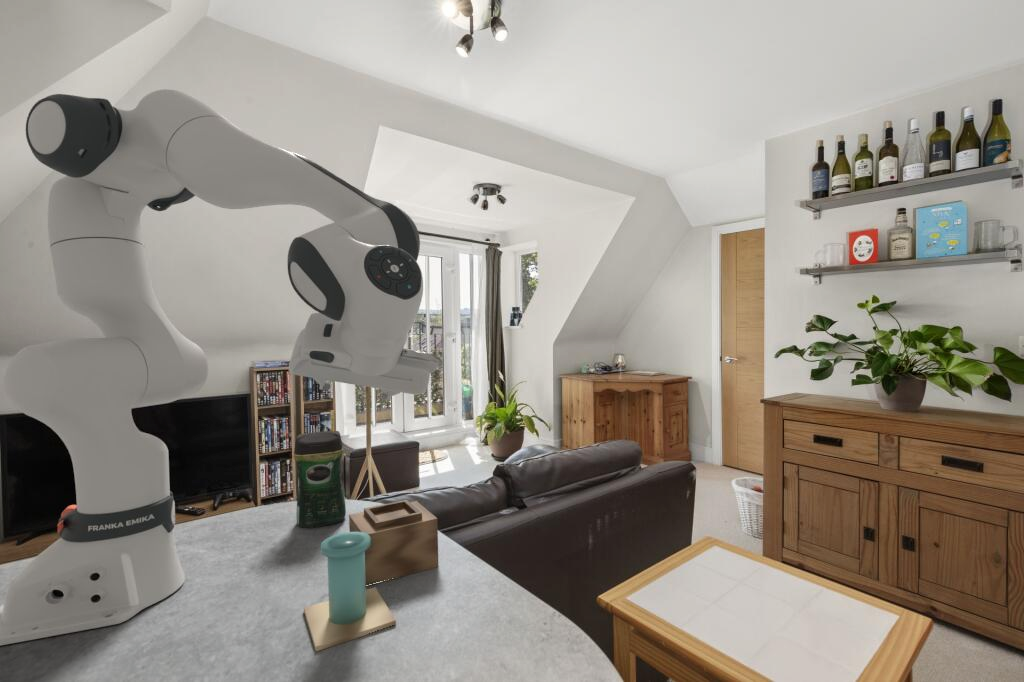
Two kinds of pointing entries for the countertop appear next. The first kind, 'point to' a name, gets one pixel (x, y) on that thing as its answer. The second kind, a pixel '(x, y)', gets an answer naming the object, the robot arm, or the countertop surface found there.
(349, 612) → the stopper cap
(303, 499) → the coffee jar
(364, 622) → the cork mat
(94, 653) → the countertop surface
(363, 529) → the walnut box
